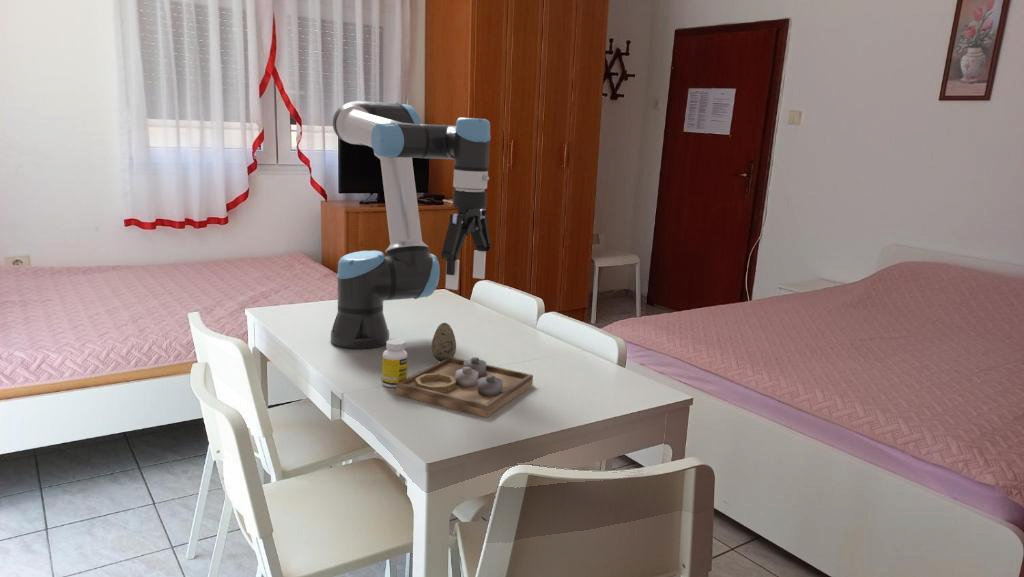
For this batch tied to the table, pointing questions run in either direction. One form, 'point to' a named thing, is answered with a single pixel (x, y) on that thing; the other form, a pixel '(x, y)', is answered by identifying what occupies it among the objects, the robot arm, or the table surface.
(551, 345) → the table surface
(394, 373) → the supplement bottle
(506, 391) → the carrier
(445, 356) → the decorative egg
